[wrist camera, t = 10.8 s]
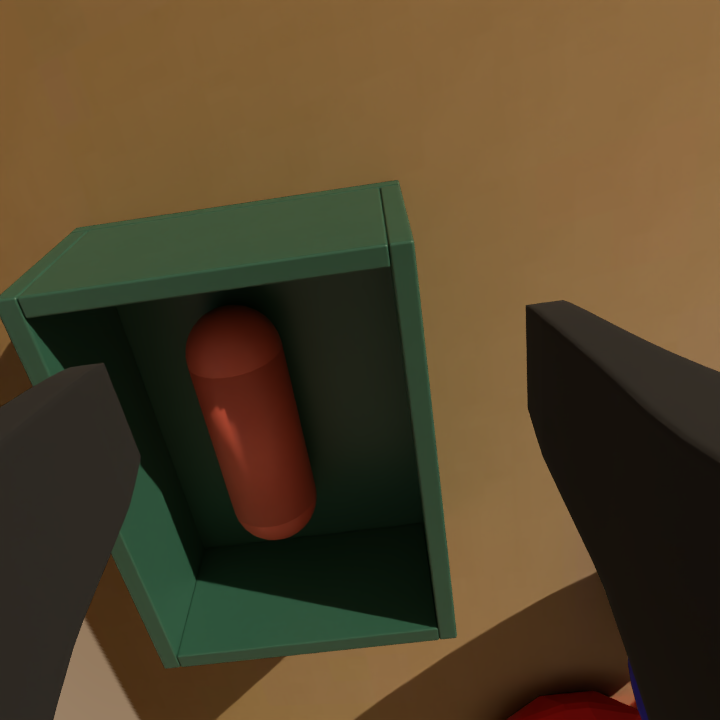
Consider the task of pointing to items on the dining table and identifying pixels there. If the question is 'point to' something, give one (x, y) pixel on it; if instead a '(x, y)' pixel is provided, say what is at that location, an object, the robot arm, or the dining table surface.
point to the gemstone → (576, 708)
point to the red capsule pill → (252, 419)
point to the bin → (314, 404)
